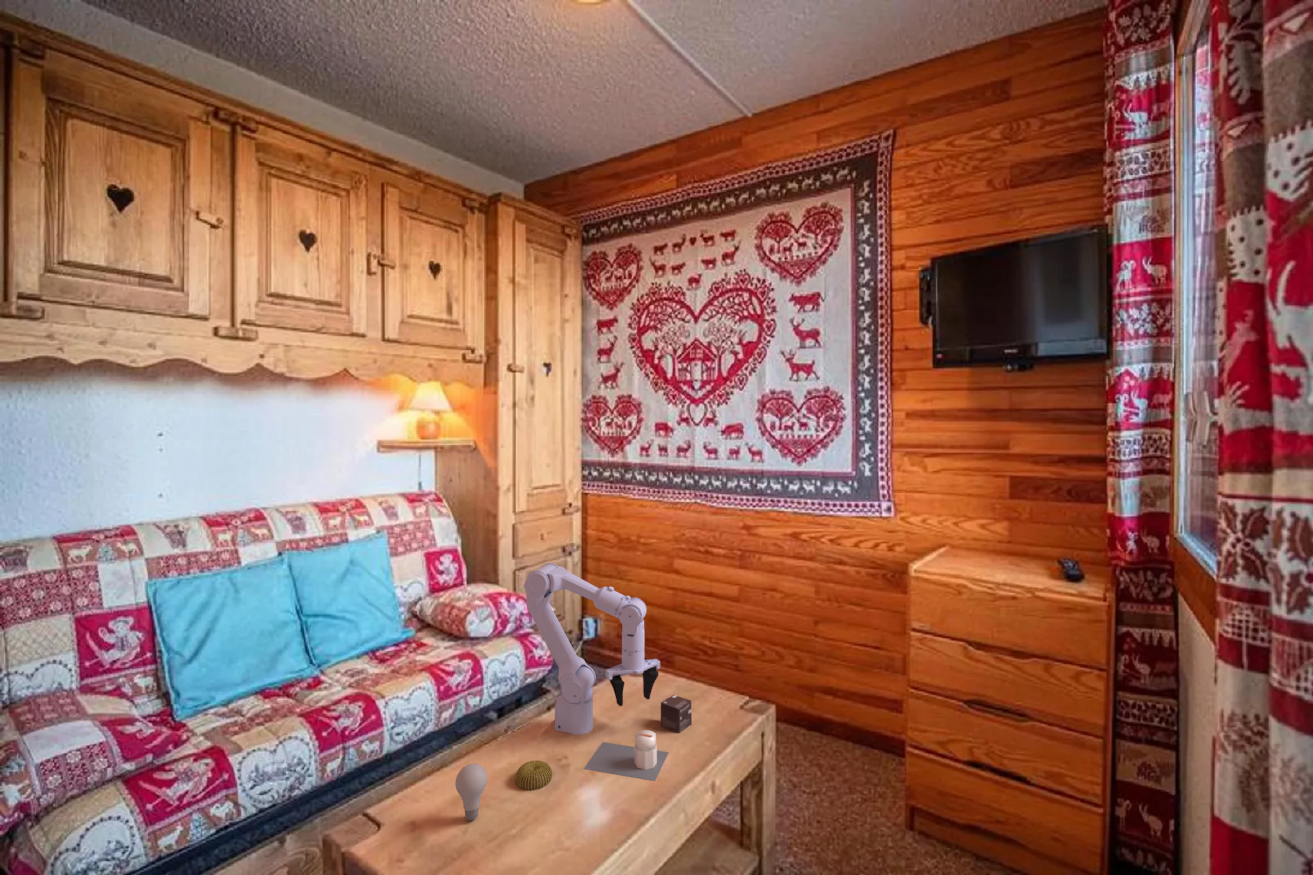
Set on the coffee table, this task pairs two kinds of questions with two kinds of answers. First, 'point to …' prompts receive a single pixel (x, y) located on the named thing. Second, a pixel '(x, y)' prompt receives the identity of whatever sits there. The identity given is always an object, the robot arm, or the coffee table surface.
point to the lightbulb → (471, 788)
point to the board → (623, 762)
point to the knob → (645, 749)
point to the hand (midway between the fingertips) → (633, 701)
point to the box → (676, 713)
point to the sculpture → (533, 774)
